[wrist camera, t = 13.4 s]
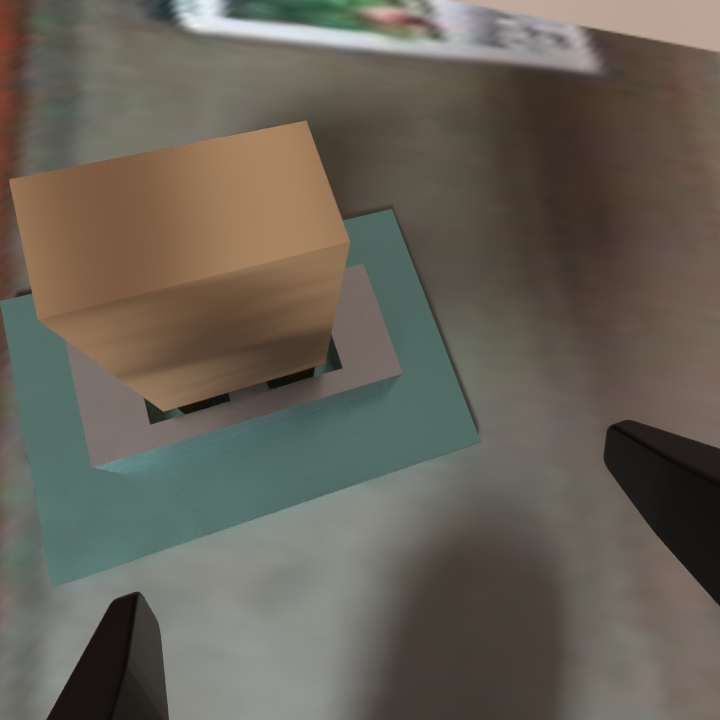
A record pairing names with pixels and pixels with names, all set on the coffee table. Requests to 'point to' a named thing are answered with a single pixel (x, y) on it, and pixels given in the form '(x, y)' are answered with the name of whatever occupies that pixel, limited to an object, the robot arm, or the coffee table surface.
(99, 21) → the coffee table surface
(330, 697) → the coffee table surface
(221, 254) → the tan cardboard brick
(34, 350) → the teal holder base
